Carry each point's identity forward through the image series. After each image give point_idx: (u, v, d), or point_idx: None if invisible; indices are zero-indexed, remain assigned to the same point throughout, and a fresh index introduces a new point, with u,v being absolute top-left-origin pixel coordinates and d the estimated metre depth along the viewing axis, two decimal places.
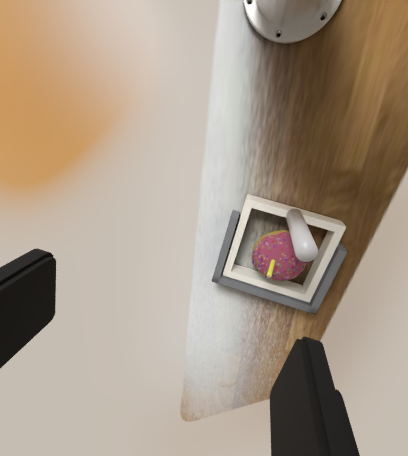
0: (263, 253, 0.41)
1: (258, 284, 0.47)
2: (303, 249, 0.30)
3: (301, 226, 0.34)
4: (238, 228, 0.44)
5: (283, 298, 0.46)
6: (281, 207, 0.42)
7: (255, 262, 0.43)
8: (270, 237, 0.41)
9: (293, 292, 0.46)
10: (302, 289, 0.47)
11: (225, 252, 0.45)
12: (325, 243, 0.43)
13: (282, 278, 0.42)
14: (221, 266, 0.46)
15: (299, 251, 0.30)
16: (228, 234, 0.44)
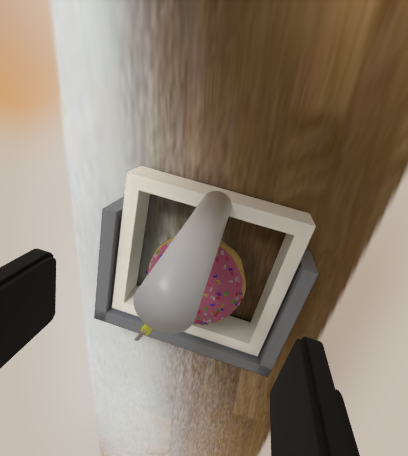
0: None
1: None
2: (155, 299, 0.10)
3: (192, 228, 0.14)
4: (123, 229, 0.24)
5: (212, 349, 0.26)
6: (194, 189, 0.22)
7: None
8: None
9: (230, 340, 0.26)
10: (247, 331, 0.27)
11: (107, 271, 0.25)
12: (280, 256, 0.24)
13: (199, 321, 0.23)
14: (104, 294, 0.26)
15: (145, 304, 0.10)
16: (104, 240, 0.24)
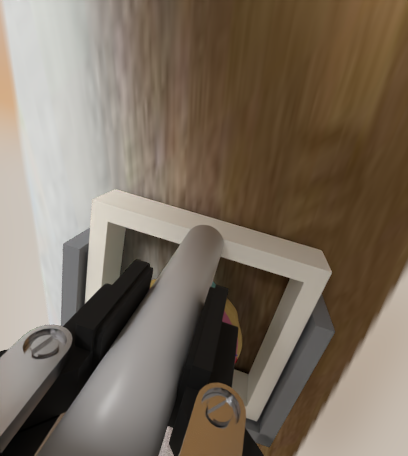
0: None
1: None
2: None
3: (158, 302, 0.09)
4: (90, 267, 0.19)
5: None
6: (176, 221, 0.17)
7: None
8: None
9: None
10: (244, 388, 0.23)
11: None
12: (285, 302, 0.19)
13: None
14: None
15: None
16: (67, 281, 0.19)
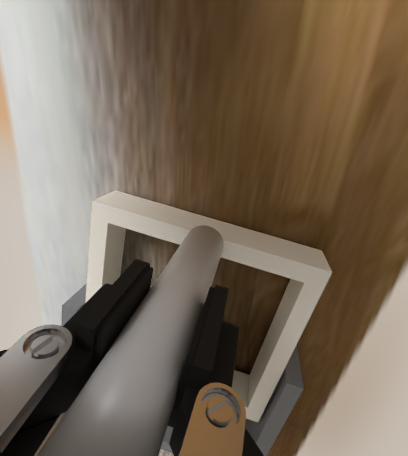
0: None
1: None
2: None
3: (158, 302, 0.09)
4: (90, 268, 0.19)
5: None
6: (176, 222, 0.17)
7: None
8: None
9: None
10: (245, 389, 0.22)
11: None
12: (286, 303, 0.19)
13: None
14: None
15: None
16: None
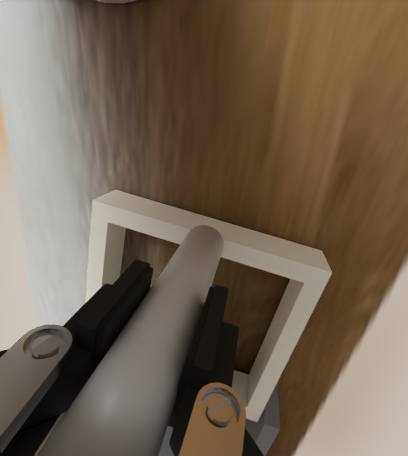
0: None
1: None
2: None
3: (158, 302, 0.09)
4: (90, 267, 0.19)
5: None
6: (176, 221, 0.17)
7: None
8: None
9: None
10: (245, 389, 0.22)
11: None
12: (286, 303, 0.19)
13: None
14: None
15: None
16: None
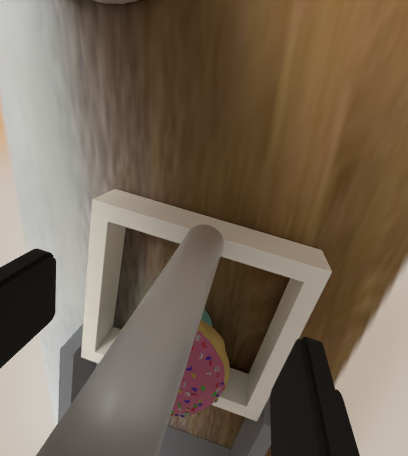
0: None
1: None
2: None
3: (158, 301, 0.09)
4: (90, 267, 0.19)
5: None
6: (176, 220, 0.17)
7: None
8: None
9: (223, 400, 0.21)
10: (244, 388, 0.23)
11: (68, 400, 0.24)
12: (285, 302, 0.19)
13: (174, 414, 0.19)
14: None
15: None
16: (64, 375, 0.23)
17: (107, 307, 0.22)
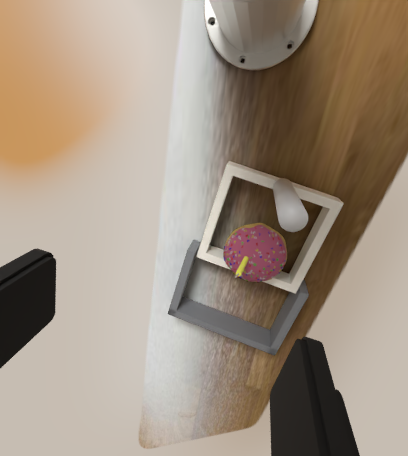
0: (235, 249, 0.35)
1: None
2: (290, 214, 0.23)
3: (289, 192, 0.27)
4: (216, 200, 0.37)
5: (242, 336, 0.43)
6: (268, 176, 0.35)
7: (226, 259, 0.37)
8: (244, 230, 0.35)
9: (278, 281, 0.39)
10: (288, 278, 0.40)
11: (182, 285, 0.42)
12: (317, 224, 0.37)
13: (257, 279, 0.37)
14: (177, 299, 0.43)
15: (284, 217, 0.23)
16: (185, 267, 0.41)
17: None
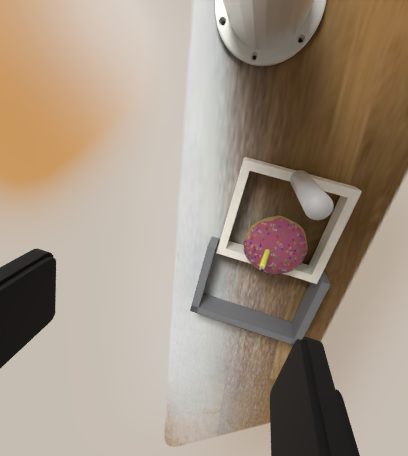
0: (256, 242, 0.36)
1: None
2: (315, 203, 0.23)
3: (310, 182, 0.27)
4: (234, 196, 0.37)
5: (265, 329, 0.44)
6: (284, 169, 0.35)
7: (247, 253, 0.38)
8: (263, 224, 0.36)
9: (298, 272, 0.39)
10: (308, 269, 0.41)
11: (204, 281, 0.43)
12: (335, 214, 0.37)
13: (278, 271, 0.37)
14: (199, 296, 0.44)
15: (309, 206, 0.23)
16: (205, 264, 0.41)
17: None
